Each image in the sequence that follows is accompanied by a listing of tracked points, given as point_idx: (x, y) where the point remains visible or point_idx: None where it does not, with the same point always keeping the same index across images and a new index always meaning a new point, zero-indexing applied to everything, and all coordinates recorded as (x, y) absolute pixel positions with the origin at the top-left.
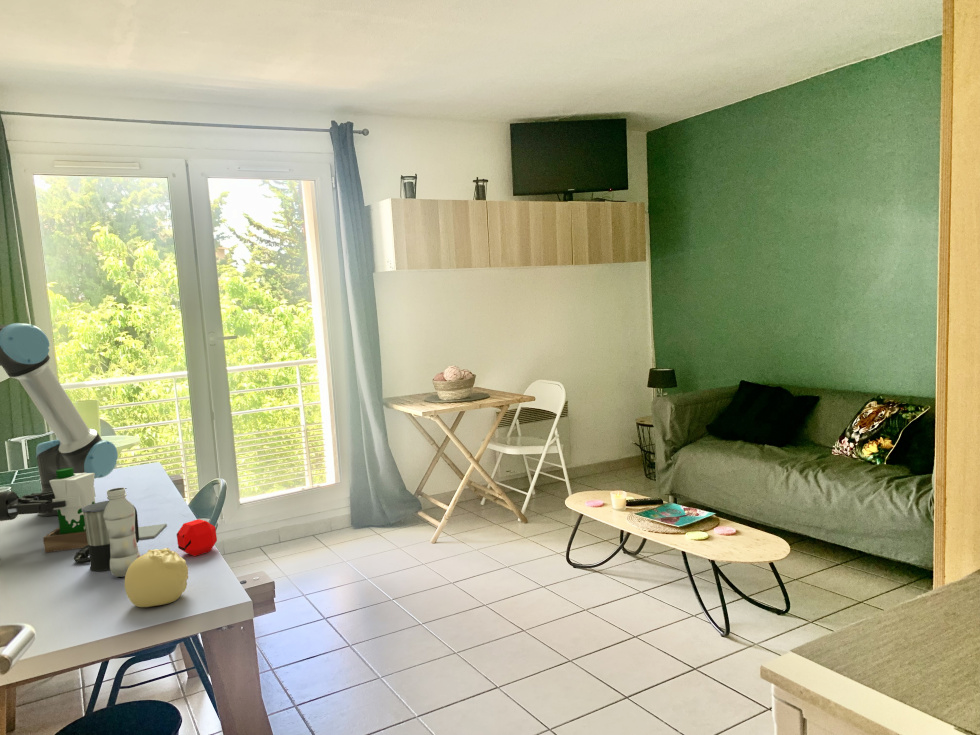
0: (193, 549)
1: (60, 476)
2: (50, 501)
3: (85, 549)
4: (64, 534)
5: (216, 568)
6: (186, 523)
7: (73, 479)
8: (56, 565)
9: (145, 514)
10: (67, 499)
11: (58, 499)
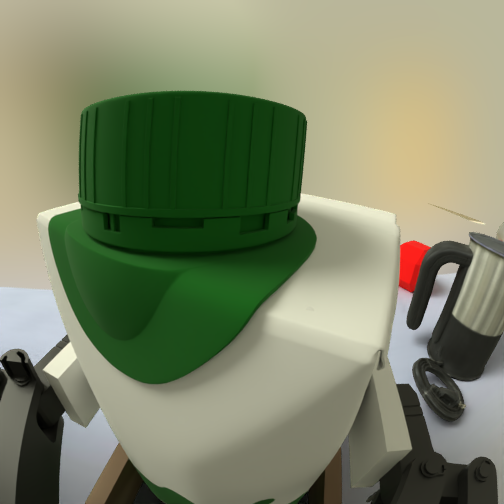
0: None
1: (296, 204)
2: (433, 452)
3: (448, 391)
4: (332, 495)
5: (449, 276)
6: (423, 249)
7: (379, 213)
8: (461, 460)
9: (60, 333)
10: (385, 367)
11: (401, 409)
